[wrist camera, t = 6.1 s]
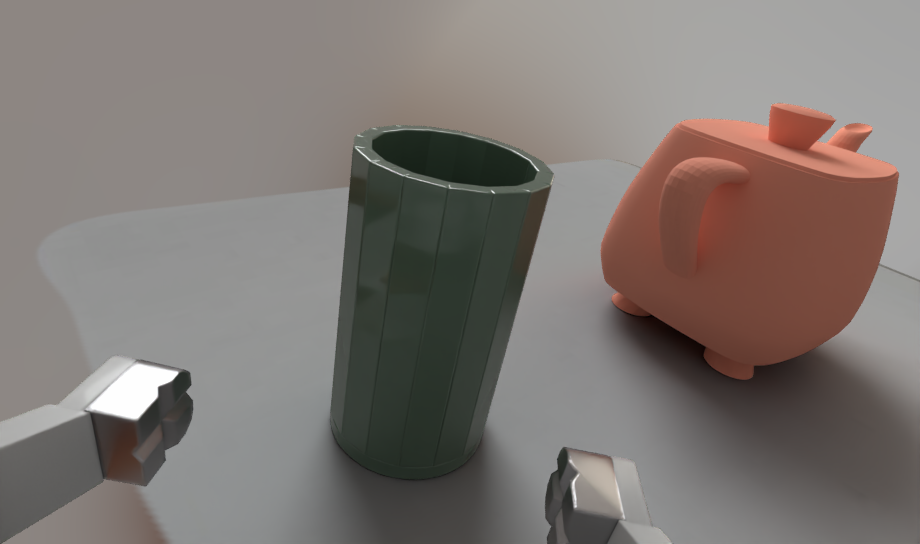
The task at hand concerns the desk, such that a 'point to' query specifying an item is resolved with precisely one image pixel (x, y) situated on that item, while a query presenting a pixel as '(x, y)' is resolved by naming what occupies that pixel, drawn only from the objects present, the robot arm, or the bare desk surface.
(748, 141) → the teapot
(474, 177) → the cup
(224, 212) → the desk surface
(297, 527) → the desk surface
